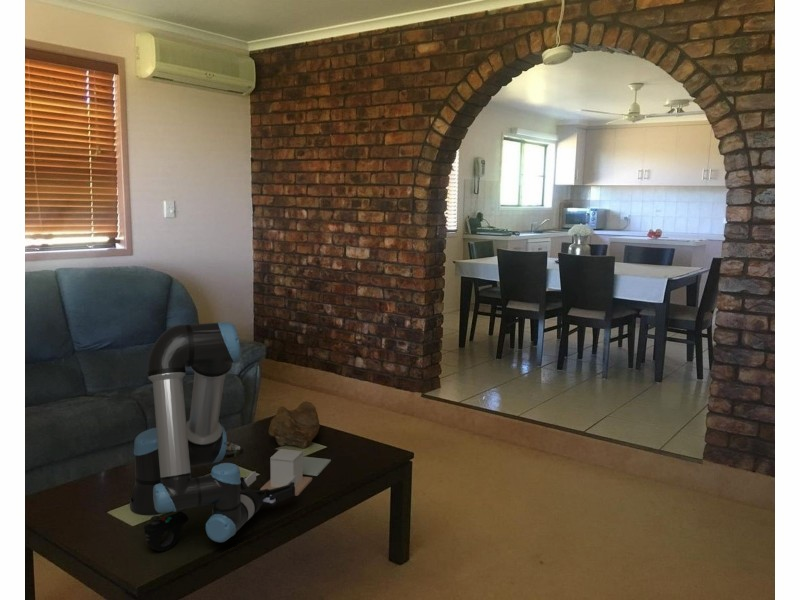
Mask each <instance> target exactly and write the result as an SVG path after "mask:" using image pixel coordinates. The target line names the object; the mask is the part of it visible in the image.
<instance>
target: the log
mask: <svg viewBox="0 0 800 600" xmlns="http://www.w3.org/2000/svg"><path fill="white" fill-rule="evenodd" d="M226 445H227V448H226V453H225V456H224V458H223V459H225V458H226V459H229V458H235V457H239V456H240V455H242V454H244V449H243V448H242V447H241V446H240V445H238V444H235V443H232V442H231V443H230V442H228V441H227V442H226Z"/></svg>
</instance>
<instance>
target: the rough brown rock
mask: <svg viewBox="0 0 800 600" xmlns="http://www.w3.org/2000/svg"><path fill="white" fill-rule="evenodd" d="M269 424H270V425H269V427H268V434H269V436H271V437H274V439H275V441H276V444H277V445H278V446H282V447H283V446H285V445H288V446H296V447H298V448H300V449H306V448H307V447H309V446H310V445H311V443H312V442H313V440H314V439H315V438H316V437H317V435H318V434H319V431H320V430H319V429H320V426H321V425H320V419H319V415H318V413H317V407H316V406H315V405H314V404H313V403H312V402H309V401H302V402H301V403H300V404H299V405H298V406H297V407H296V408H295V409H289V410H288V408H286V407H285V406H279V408H277V412H276V414H275V415H274V416H273V418H272V419H271V420H270V423H269Z"/></svg>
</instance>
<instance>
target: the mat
mask: <svg viewBox="0 0 800 600" xmlns="http://www.w3.org/2000/svg"><path fill="white" fill-rule="evenodd" d="M331 461H332V460H331V459H330V458H329V459H328V458H321V457H320V458H319V457H313V456H311V457H310V456H303V475H307V476H312V477H313V476H315V477H318V475H320V473H322V471H323V470H325V468H326V467H327V466H328V465H329V464H330V463H331Z"/></svg>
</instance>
